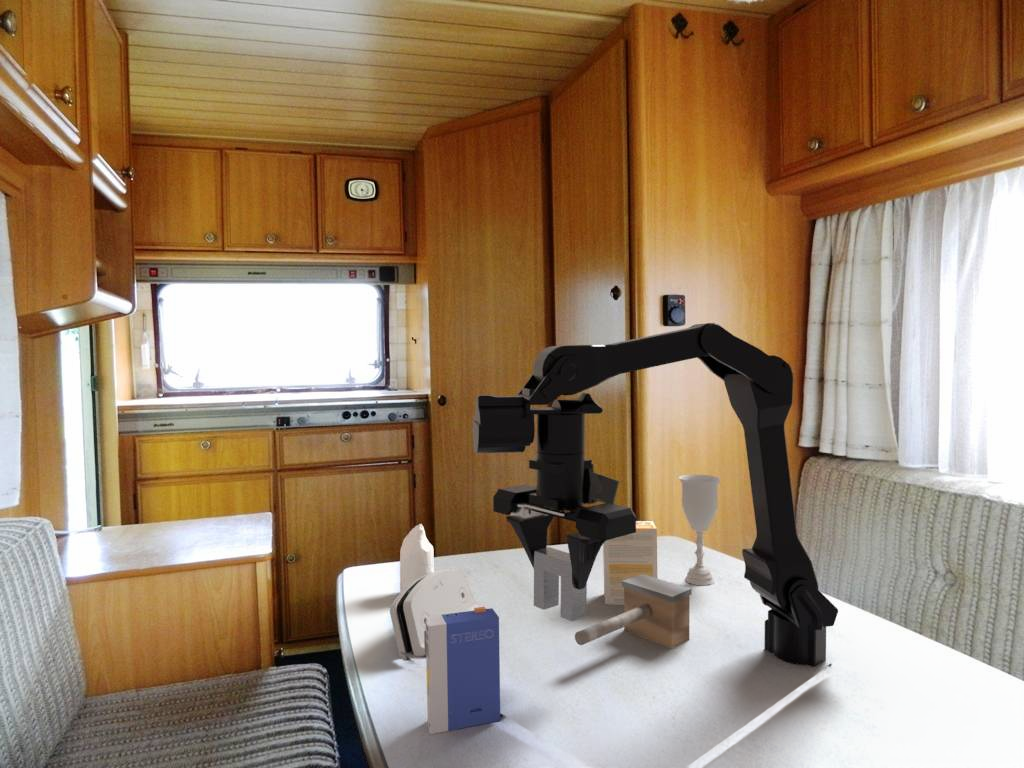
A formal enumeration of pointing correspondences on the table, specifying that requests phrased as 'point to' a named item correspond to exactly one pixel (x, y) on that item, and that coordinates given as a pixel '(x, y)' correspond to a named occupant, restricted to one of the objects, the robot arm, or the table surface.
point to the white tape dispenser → (428, 606)
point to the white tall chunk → (415, 557)
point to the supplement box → (629, 559)
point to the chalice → (699, 518)
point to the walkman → (462, 669)
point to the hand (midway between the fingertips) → (559, 581)
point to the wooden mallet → (648, 613)
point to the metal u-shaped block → (557, 584)
